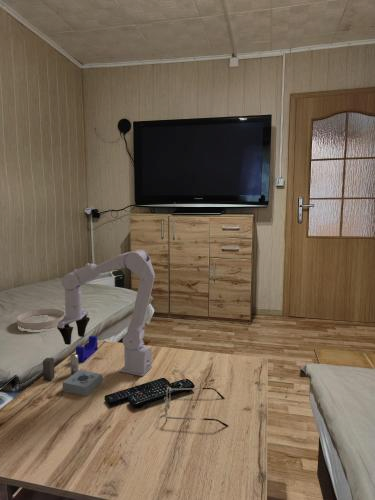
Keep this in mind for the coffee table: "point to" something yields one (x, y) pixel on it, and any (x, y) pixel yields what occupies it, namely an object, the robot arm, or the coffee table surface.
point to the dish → (53, 318)
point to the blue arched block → (87, 349)
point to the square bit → (48, 369)
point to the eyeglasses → (188, 418)
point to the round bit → (74, 363)
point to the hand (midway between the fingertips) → (74, 340)
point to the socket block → (82, 382)
